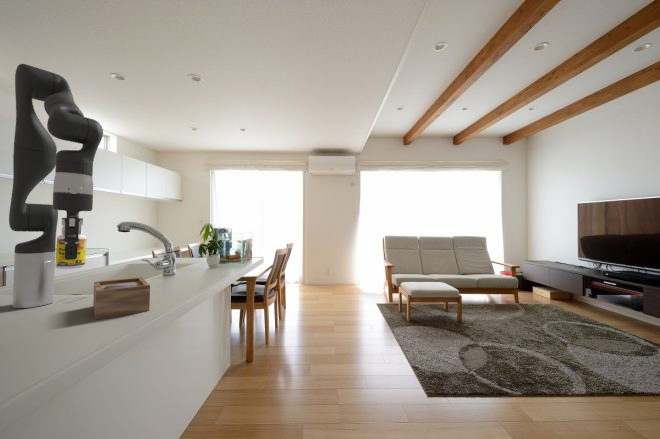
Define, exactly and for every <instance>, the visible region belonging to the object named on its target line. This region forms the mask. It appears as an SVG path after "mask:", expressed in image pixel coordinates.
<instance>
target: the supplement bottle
mask: <svg viewBox="0 0 660 439" xmlns="http://www.w3.org/2000/svg"><path fill="white" fill-rule="evenodd" d="M62 231H63V227H62V228H61V232H60V233H61V235H57V236H56V245H55V246H56V247H55V268H56V269H59V270H72V269H73V270H74V269H80V268H84V267H85V265H86V254H87V253H86V252H87V236H86V235H83V234H84V230H83V227H81V235H80V236H78V239H79V243H78V244H77V258H76V259H72V260H66V259H65V245H67V244H65V243H64V239H65V236H63V234H62ZM68 237H76V236H68Z"/></svg>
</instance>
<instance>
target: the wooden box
mask: <svg viewBox="0 0 660 439" xmlns="http://www.w3.org/2000/svg"><path fill="white" fill-rule="evenodd" d="M150 296H151V284H149V283H148V282H147V281H146V280H145V279H144V278H143V277H133V278H122V279H112V280H101V281H94V282H93V300H92V301H93V302H92V303H93V304H92V307H93V314H94V320H101V319H107V318H113V317H119V316H125V315H132V314H138V313H143V312H149V311H150V305H151V304H150V303H151V302H150V301H151V300H150V299H151V298H150Z"/></svg>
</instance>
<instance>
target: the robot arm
mask: <svg viewBox="0 0 660 439" xmlns="http://www.w3.org/2000/svg"><path fill="white" fill-rule="evenodd" d="M14 74H15V75H14V88H15V90H14V91H15V94H14V95H15V117H16V118H15V131H14V140H13V154H12V155H13V156H12V157H13V158H12V159H13V160H12V163H13V164H12V167H13V168H12V169H13V171H12V172H13V176H12V177H13V178H12V181H13V182H12V191H11V197H10V203H9V204H10V206H9V213H8V214H9V215H8V224H9V228H10V229H11V230H12V231H13V232H34V233H35V232H40V233H41V232H42V234H41V235H39V237H36V238H34V239H30V240H28V241H23V242H19V243H17V244H16V245H15V246H14V260H13V261H14V264H13V279H12V280H13V282H12V300H11V301H12V302H11V303H12V304H11V305H12V306H11V307H12V308H13V309H28V308H35V307H41V306H45V305H49V304H52V303H54V295H55V294H54V293H55V274H56V273H55V268H56V266H55V264H56V245H57V230H58V229H57V228H58V222H59V211H66V216H65V217H61V226H62V228H63V231H62V230H61V233H62V234H61V235H63V236H65V239H64V243H65V244H67V245H65V259H66V260H72V259H76V258H77V244H78V243H79V239H78V236H80V235H81V228H82V226H83V225H84V224H83V223H84V218H83V217H79V216H80V212H92V210H93V205H94V204H93V202H94V201H93V200H94V180H93V179H94V177H93V174H94V172H93V171H94V168H93V167H94V160H95V157H96V156H95V155H96V154H97V150H98V148H99V146H100V144H101V141H102V139H103V136H104V129H103V127H102V125H101V123H99V121H97V120H96V119H93V118H90V117H85V115H84V113H83V111H82V110H81V109H80V107H79V106H78V104H76V102H75V100H74V96H73V92H72V90H71V87H70V85H69V82H68V80H67V79H65V77H63V76H61V75H59V74H58V73H54V72H52V71H49V70H45V69H42V68H39V67H37V66H33V65H30V64H28V63H27V64H26V63H19V64H18V65H17V67H16V68H15V73H14ZM33 100H36V101H41V102H43V107H44V111H45V113H46V114H47V116H48V119H47V121H46V122H47V123H46V126H47V127H45V126H44V125H43V123H42V122H41V120H40V118H39V117H38V115H37V112H36V111H35V108H34V102H33ZM52 136H53V137H54V138H56V139H58V140H62V141H65V142H71V143H76V144H80V145H82V146H81V148H80V149H76V150H75V149H63V150H59V151H58V152H57V150H58V147H57V144H56V143H55V140H54V139H53V138H52ZM54 169H55V174H54V179H53V186H52V187H53V188H52V204H49V203H47V204H45V203H28V202H27V203H26V201H27V199H28V197H29V195H30V193H31V192H32V191H33V190H34V189H35V188H36V186H38V184H40V183H41V182H42V181H43V180H44V179H45V178H46V177H48V175H50V174H51V173H52V172H53V170H54ZM68 236H76V237H68Z"/></svg>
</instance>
